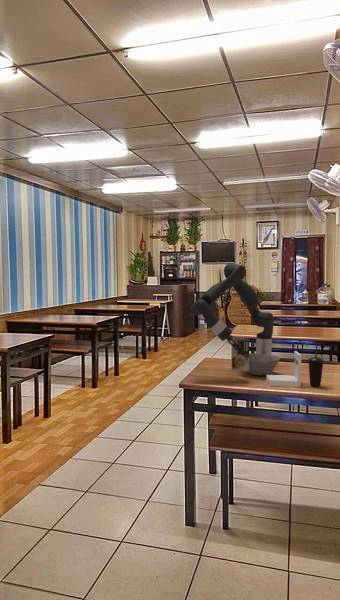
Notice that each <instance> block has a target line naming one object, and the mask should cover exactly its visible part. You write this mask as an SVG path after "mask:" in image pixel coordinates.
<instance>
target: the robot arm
mask: <svg viewBox="0 0 340 600" xmlns="http://www.w3.org/2000/svg"><path fill="white" fill-rule="evenodd" d="M223 274H224V278H225V279H224V280H221V281H219V282H217V283H215V284H214V285H212V286H211V287H209V288H208V290H206V292H205V293H203V295H202V296H201V297H199V299H197V300H195V302H194V303H193V304H192V305H191V307H190V312H191V313H192V315H194V316H196V317H197V316H202V317H203V322H204V323H205V325H206V326H207V327H208V328H209V329H210V330H211V331H212V332H213V334H215V336H217V338H218V339H220V341H223V342H224V341H225V340H227V343H228V344H229V345H230V346H231V348H232V347H234V348H235V350H238V351H239V352H240V353H241V354H242V355H244V354H245V351H244V350H243V349H242V348H241V347H240V346H239V345H238V342H235V341H234V340H235V338H236V337H235V336H233V335H231V334H232V333H233V330H232V329H231V327H229V326H228V325H227V324H226V323H225V322H224V321H223V320H222V319H220V318H219V316H218V315H216V314H215V312H214V310H213V308H212V307H211V305H212V304H214V303H215V302H217V300H218V299H219V298H221V296H223V294H224V293H226V292H227V291H228V290H229V289H232V287H233V289H234V290H235V292H236V293H237V295H238V296H239V298H240V300H241V302H242V303H243V304H244V306H245V308H246V309H247V311H248V313H249V315H250V317H251V319H252V321H253V323H254V325H255V326H256V327H259V328H263V330H262V331H260V332H258V333H256V340H255V341H256V342H255V343H256V346H255V347H256V348H255V350H256V351H255V354H268V355H272V352H273V351H272V347H273V345H272V344H273V343H272V342H273V333H274V321H275V318H274V315H273V313H271V312H266V311H264V312H262V311H261V310H260V309H259V308H258V306H259V305H258V304H259V296H258V294H257V292H256V291H255V289H254V288H253V287H252V286H250V284H248V283H247V282H246V281H244V280H243V279H244V278H245V277H246V275H247V269H246V266H244V265H243V264H239V263H227V264H225V266H224V267H223ZM236 345H237V347H235V346H236Z"/></svg>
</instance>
